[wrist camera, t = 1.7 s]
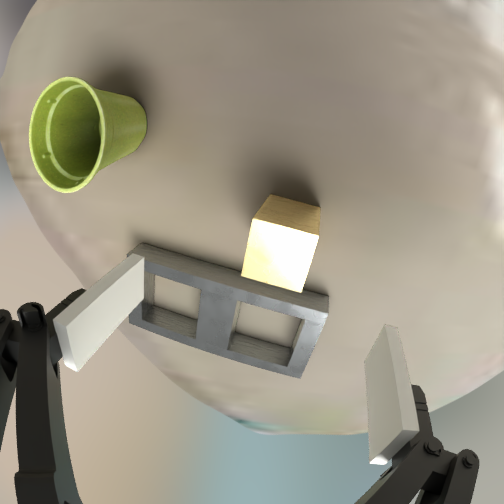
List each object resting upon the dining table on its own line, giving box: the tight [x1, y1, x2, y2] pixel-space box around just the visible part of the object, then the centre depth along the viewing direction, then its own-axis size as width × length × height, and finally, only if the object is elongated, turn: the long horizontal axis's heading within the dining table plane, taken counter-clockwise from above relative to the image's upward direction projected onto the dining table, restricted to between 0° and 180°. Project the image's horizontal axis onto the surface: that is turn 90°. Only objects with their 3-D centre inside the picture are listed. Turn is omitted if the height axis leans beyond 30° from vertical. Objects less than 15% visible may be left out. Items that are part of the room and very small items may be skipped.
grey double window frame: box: [127, 243, 329, 378], centre depth 31 cm, size 9×20×3 cm, turn 79°
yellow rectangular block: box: [241, 194, 320, 293], centre depth 25 cm, size 4×4×7 cm
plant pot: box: [29, 77, 147, 193], centre depth 23 cm, size 9×9×9 cm
